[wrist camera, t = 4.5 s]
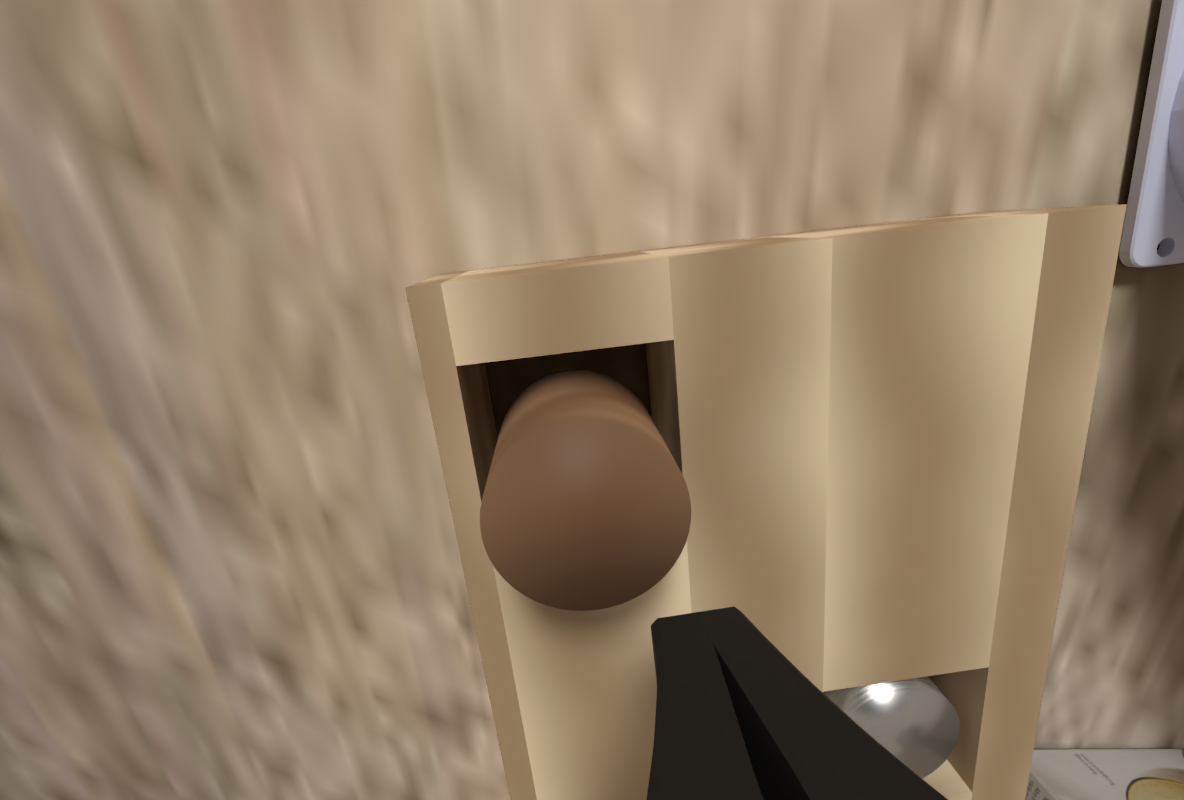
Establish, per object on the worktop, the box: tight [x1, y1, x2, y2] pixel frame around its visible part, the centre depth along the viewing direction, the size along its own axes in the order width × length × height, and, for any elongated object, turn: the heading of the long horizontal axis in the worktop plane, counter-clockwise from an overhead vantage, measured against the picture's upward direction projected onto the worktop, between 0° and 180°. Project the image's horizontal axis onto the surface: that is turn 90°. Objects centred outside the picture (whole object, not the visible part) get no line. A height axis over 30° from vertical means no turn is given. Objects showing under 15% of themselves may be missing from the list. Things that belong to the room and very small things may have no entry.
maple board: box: [406, 204, 1127, 800], centre depth 16 cm, size 15×18×4 cm
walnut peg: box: [480, 370, 691, 611], centre depth 11 cm, size 4×4×4 cm
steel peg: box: [823, 676, 960, 778], centre depth 17 cm, size 4×4×4 cm
